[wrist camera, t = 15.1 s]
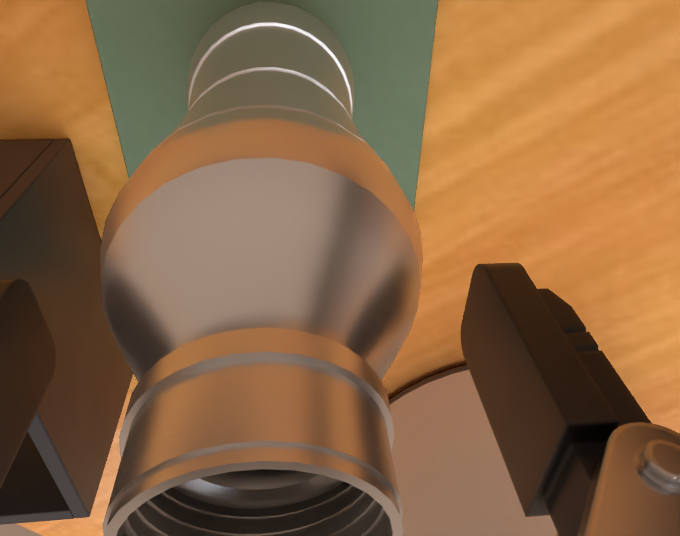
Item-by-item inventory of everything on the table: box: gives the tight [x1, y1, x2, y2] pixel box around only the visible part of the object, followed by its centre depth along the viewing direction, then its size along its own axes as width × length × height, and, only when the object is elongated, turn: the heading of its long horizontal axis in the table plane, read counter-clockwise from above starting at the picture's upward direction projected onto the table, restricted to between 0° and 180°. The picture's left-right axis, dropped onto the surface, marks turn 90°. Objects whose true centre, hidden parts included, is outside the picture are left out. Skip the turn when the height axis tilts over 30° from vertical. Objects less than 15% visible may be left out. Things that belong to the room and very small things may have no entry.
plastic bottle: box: [100, 2, 423, 536], centre depth 14 cm, size 6×7×20 cm
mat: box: [86, 0, 438, 212], centre depth 22 cm, size 20×14×1 cm
